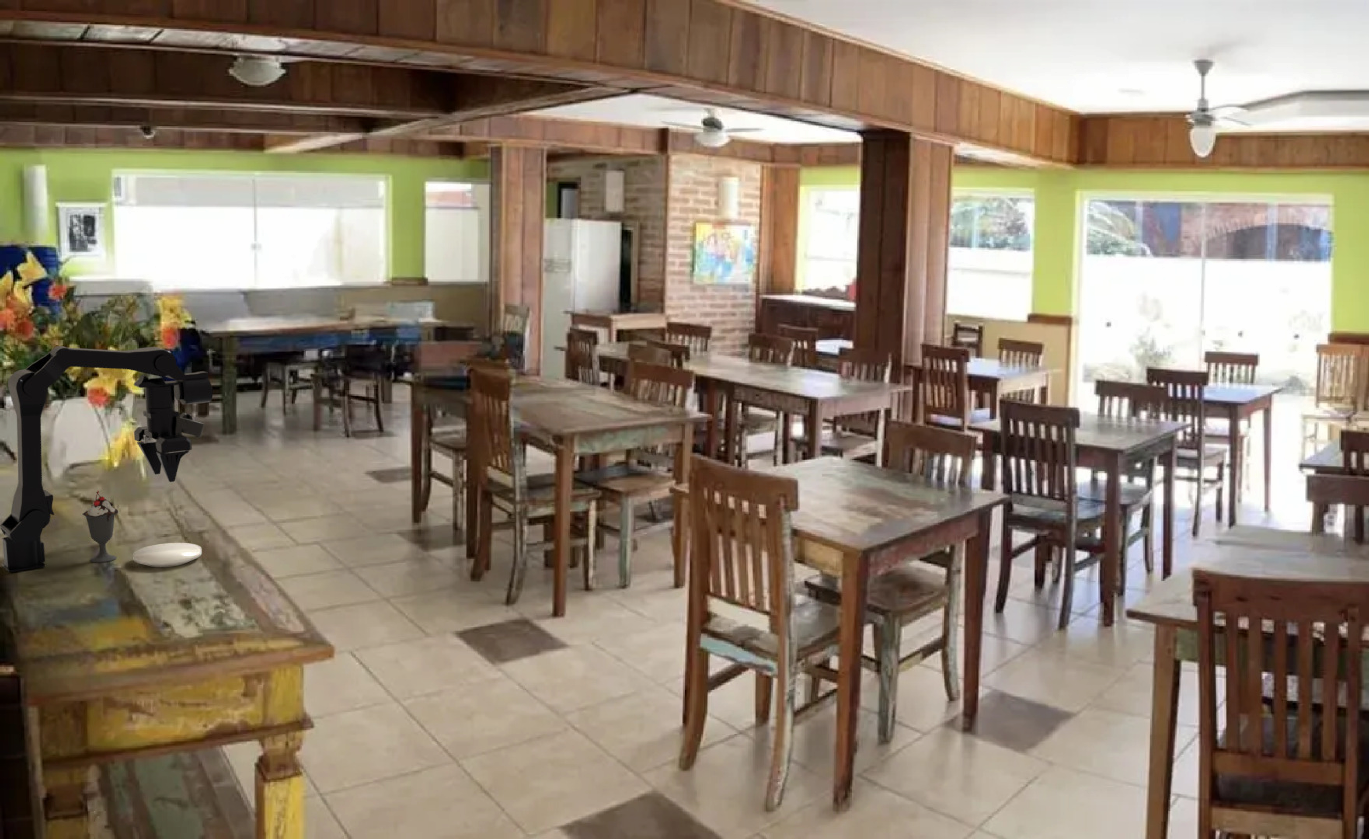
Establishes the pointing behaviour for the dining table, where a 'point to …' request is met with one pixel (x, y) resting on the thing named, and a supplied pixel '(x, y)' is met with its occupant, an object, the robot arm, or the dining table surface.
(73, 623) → the dining table surface
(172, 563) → the stand
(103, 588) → the dining table surface
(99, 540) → the sundae
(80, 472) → the dining table surface
